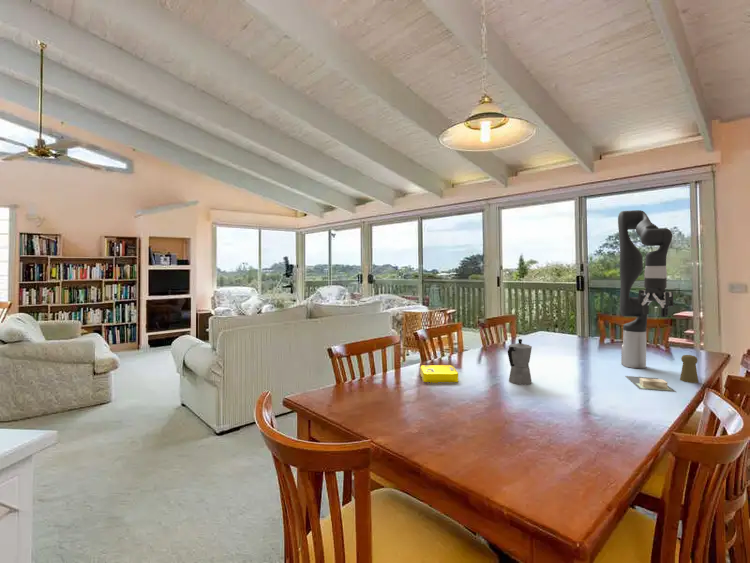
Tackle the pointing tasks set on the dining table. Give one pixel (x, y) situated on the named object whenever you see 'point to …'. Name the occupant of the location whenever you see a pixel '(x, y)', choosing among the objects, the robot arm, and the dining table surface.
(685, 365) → the cork
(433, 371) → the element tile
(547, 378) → the dining table surface
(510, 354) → the coffeepot
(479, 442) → the dining table surface
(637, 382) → the grey board
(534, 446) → the dining table surface
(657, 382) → the maple tile
